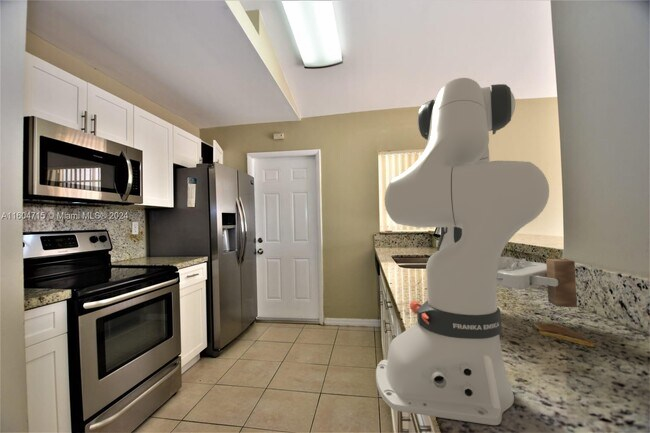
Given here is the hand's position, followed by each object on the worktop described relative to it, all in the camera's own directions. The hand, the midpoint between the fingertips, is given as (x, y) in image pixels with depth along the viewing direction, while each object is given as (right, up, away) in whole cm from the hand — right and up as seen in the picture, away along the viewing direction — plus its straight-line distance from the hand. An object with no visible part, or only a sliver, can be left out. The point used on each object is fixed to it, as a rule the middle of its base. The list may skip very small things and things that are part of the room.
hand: (565, 280), depth 65 cm
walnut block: (0, -6, +1) cm, 6 cm away
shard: (0, -14, 0) cm, 14 cm away
